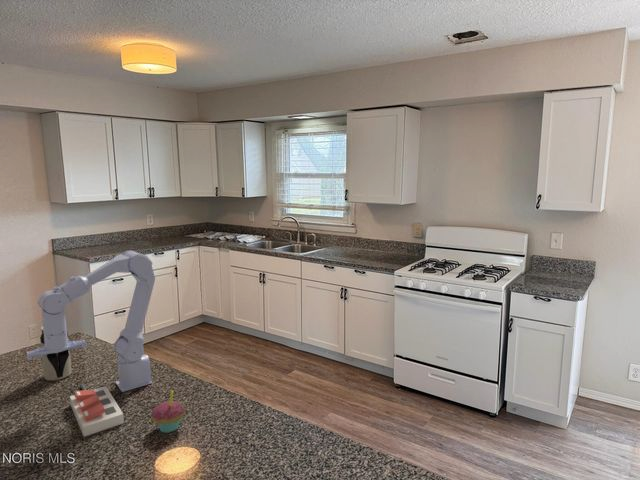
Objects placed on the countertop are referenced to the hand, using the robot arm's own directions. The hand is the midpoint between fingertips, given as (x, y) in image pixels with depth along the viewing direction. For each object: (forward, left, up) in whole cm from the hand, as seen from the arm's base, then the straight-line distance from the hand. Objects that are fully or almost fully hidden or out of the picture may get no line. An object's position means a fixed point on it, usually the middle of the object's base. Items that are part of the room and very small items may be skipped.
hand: (59, 376), depth 126 cm
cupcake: (-21, +30, -10) cm, 38 cm away
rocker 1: (-6, +4, -6) cm, 9 cm away
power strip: (-7, +5, -10) cm, 13 cm away
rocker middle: (-6, +10, -6) cm, 13 cm away
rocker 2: (-6, +16, -6) cm, 18 cm away
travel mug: (-2, -24, -10) cm, 26 cm away
